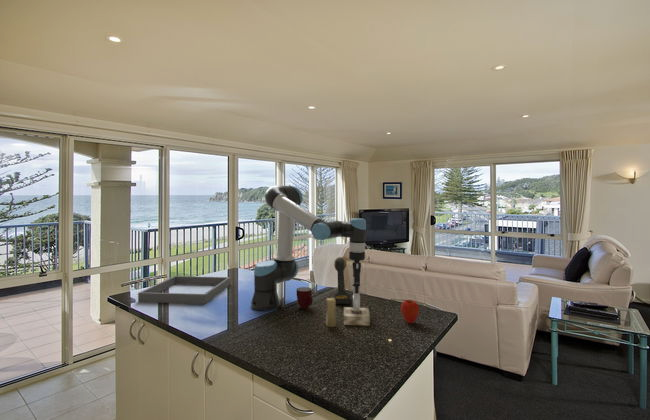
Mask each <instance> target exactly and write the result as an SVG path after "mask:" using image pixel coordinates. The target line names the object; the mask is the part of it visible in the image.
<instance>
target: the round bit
mask: <svg viewBox="0 0 650 420" xmlns="http://www.w3.org/2000/svg"><path fill="white" fill-rule="evenodd" d="M352 307H353V313H354V314H360V308H361V295H360V294H359V300H353V299H352Z"/></svg>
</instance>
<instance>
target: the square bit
mask: <svg viewBox="0 0 650 420" xmlns="http://www.w3.org/2000/svg"><path fill="white" fill-rule="evenodd" d="M336 305H337V304H336V300H335V299H334V297H327V298H326V299H325V325H326V327H327V328H333V327H334V328H335V327H336Z"/></svg>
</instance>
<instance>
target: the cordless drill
mask: <svg viewBox="0 0 650 420" xmlns="http://www.w3.org/2000/svg"><path fill="white" fill-rule="evenodd" d="M333 265H334V268H335V271H336V272H337V290H335V292H334V297H333V298H334V299H335V300H336V304H335V305H350V303H351V301H350V300H351V297H350V296H351V294H350V292H349V290H348V289H346V286H345V273H344V272H345V269H346V267H347V260H346V258H344V257H343V256H342V257H341V256H338V257H336V258H335V259H334V264H333Z"/></svg>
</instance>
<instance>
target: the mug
mask: <svg viewBox="0 0 650 420" xmlns="http://www.w3.org/2000/svg"><path fill="white" fill-rule="evenodd" d="M312 290H313V289H312V288H311V287H308V286H300V287H297V288H296V299H297V304H298V307H299V308H300V309H301V310H307V309H308V308H309V307H310V306H311V305H312V304H313V303H314V301H313V300H314V299H313V297H312V295H313V291H312Z"/></svg>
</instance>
